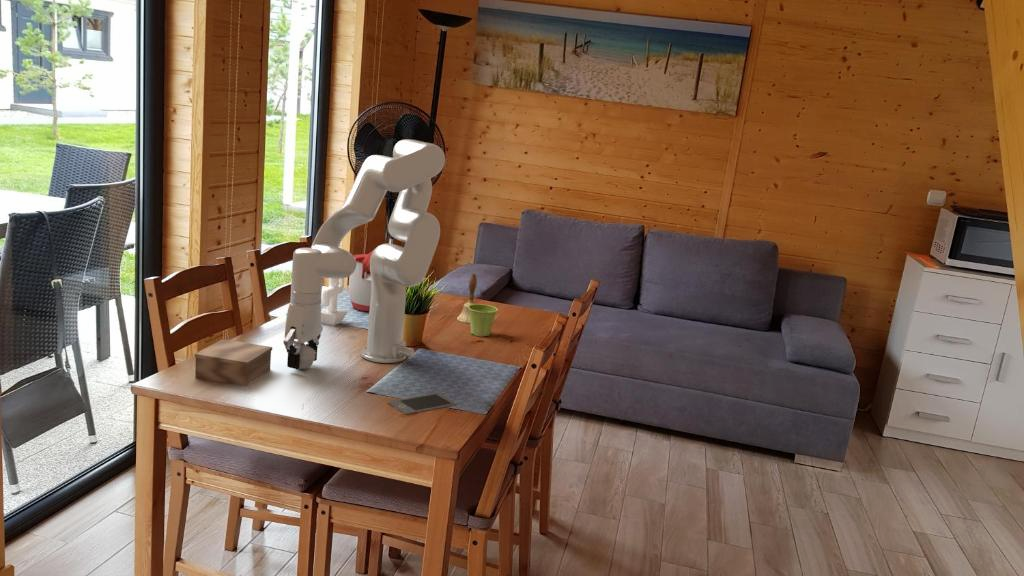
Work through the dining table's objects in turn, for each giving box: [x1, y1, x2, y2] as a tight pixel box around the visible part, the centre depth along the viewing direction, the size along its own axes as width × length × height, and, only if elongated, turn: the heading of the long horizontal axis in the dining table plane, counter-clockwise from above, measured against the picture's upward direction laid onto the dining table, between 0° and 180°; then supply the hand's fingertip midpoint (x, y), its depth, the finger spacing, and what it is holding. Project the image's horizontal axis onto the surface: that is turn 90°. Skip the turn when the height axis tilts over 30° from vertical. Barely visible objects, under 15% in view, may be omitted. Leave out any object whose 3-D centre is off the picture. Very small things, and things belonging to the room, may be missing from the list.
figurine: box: [321, 278, 349, 327], centre depth 251 cm, size 7×9×15 cm
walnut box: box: [194, 338, 273, 387], centre depth 201 cm, size 13×13×6 cm
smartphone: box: [387, 392, 457, 415], centre depth 196 cm, size 15×8×1 cm, turn 130°
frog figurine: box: [293, 343, 316, 370], centre depth 209 cm, size 6×7×7 cm
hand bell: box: [456, 273, 478, 324], centre depth 272 cm, size 8×8×16 cm
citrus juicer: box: [348, 249, 374, 312], centre depth 272 cm, size 16×17×20 cm
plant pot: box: [468, 303, 499, 338], centre depth 258 cm, size 9×9×9 cm
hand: (302, 363), depth 210 cm, fingers open, 7 cm apart
